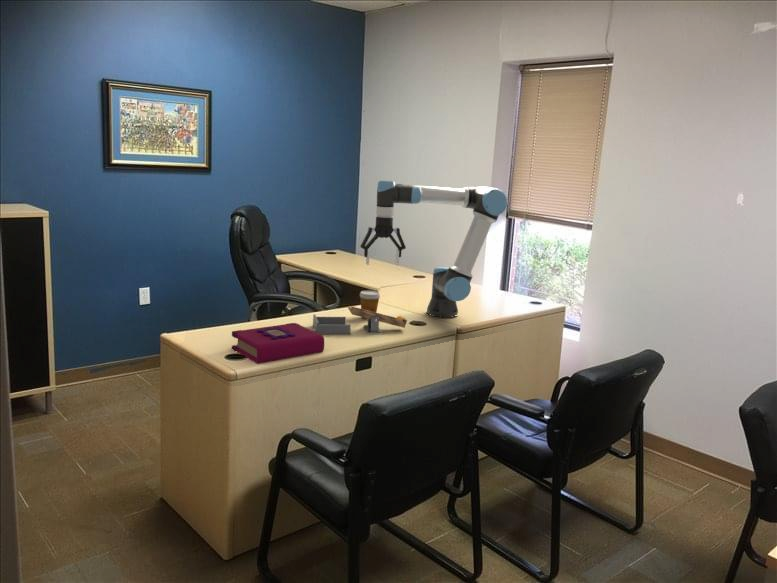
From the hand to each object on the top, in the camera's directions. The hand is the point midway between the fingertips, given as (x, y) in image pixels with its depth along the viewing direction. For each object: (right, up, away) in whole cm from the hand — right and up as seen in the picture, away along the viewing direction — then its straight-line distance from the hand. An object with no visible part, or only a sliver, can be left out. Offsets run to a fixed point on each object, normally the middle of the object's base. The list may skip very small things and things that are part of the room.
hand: (382, 264), depth 288 cm
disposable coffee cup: (-6, -24, +10) cm, 27 cm away
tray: (-22, -28, -13) cm, 38 cm away
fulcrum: (-4, -29, -9) cm, 30 cm away
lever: (-3, -24, -7) cm, 25 cm away
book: (-39, -35, -45) cm, 69 cm away
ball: (+8, -24, -8) cm, 26 cm away
